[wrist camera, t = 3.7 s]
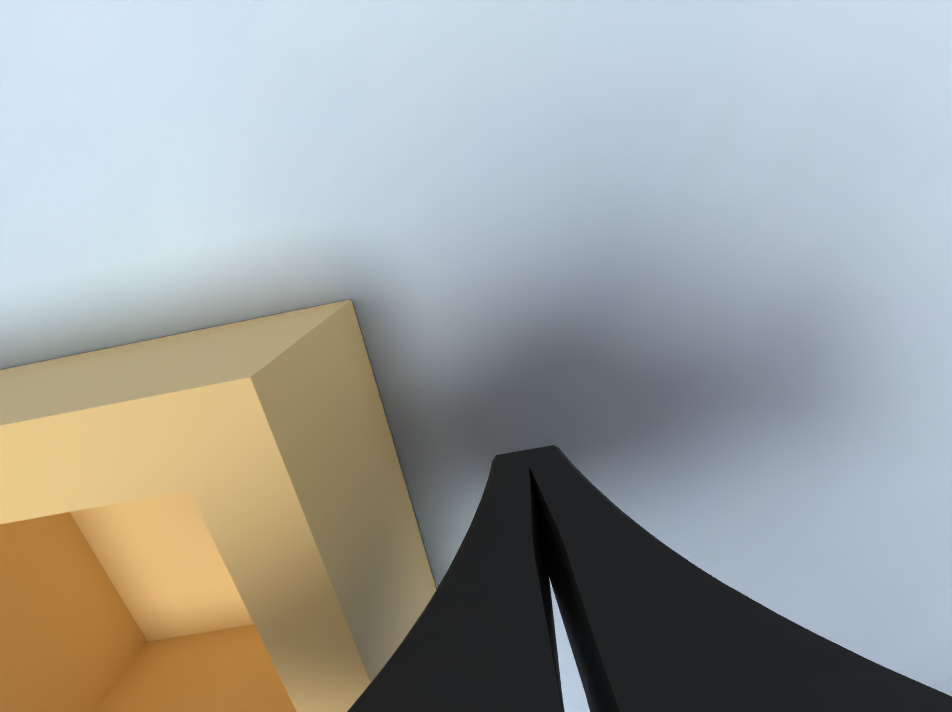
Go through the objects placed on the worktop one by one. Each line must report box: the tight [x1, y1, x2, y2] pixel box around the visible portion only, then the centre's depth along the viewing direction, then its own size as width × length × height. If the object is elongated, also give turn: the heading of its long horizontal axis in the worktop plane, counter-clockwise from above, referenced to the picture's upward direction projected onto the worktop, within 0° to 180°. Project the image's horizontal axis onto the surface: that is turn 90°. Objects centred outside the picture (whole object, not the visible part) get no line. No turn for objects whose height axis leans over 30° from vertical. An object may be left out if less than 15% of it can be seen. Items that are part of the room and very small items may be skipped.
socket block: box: [0, 299, 437, 712], centre depth 9 cm, size 9×9×4 cm
